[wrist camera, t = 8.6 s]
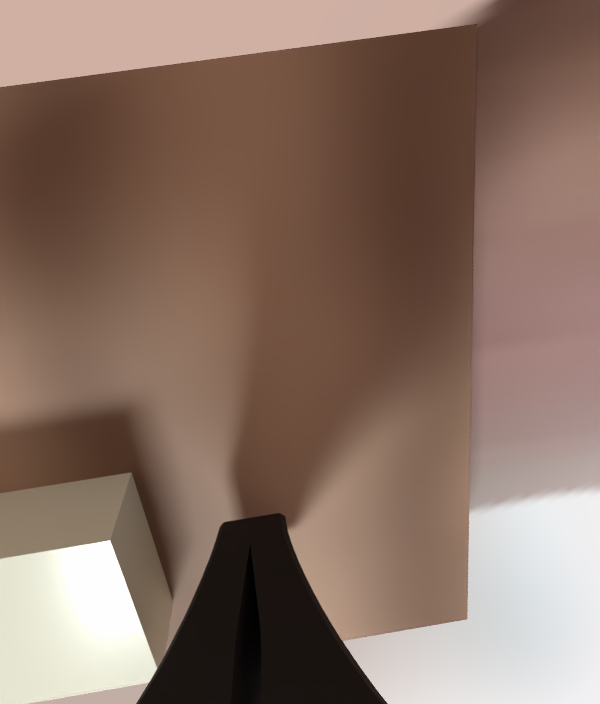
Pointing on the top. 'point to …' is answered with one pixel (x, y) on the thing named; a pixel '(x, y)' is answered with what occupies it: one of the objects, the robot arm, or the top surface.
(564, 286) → the top surface
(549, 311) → the top surface
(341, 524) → the plate
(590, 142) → the top surface
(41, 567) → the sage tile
